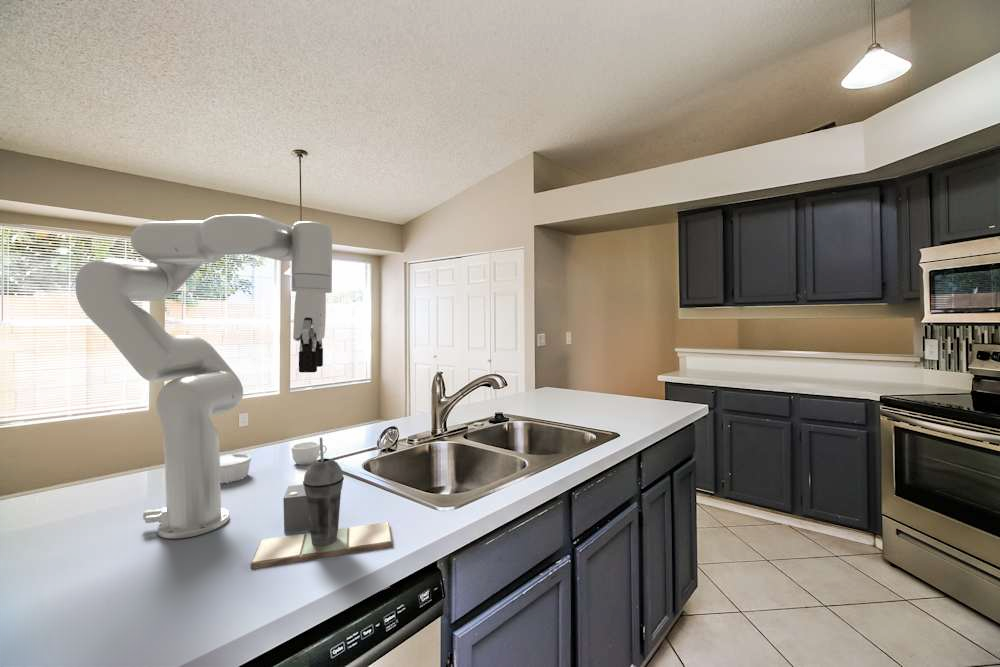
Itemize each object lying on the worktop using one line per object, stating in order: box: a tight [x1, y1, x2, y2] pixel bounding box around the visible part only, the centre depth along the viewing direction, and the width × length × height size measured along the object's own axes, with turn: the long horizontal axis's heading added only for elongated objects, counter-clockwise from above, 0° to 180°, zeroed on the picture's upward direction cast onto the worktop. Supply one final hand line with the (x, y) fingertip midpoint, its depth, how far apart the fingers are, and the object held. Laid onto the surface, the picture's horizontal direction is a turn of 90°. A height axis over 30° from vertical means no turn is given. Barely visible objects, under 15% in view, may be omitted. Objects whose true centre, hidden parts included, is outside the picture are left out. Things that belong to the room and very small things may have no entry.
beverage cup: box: [302, 437, 345, 546], centre depth 86 cm, size 7×7×20 cm
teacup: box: [291, 441, 328, 466], centre depth 137 cm, size 10×8×5 cm
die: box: [283, 484, 310, 533], centre depth 96 cm, size 7×7×7 cm
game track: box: [250, 521, 393, 570], centre depth 86 cm, size 24×9×1 cm, turn 108°
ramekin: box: [220, 453, 252, 484], centre depth 123 cm, size 11×11×5 cm
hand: (311, 369), depth 92 cm, fingers open, 9 cm apart
